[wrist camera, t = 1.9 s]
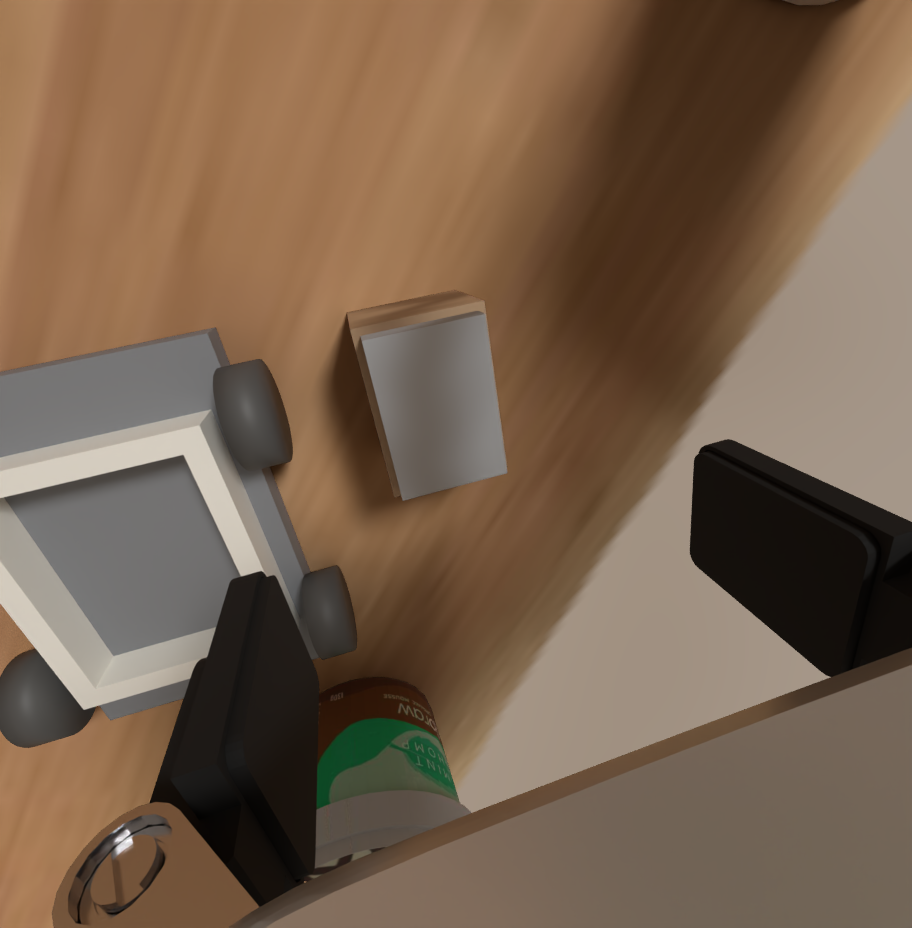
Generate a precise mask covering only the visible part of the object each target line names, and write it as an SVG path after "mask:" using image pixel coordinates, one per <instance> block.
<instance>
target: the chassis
mask: <svg viewBox="0 0 912 928" xmlns="http://www.w3.org/2000/svg"><path fill="white" fill-rule="evenodd" d="M292 455H293V447H292V438H291V432H290V427H289V423H288V419H287V415H286V411H285V408H284V405H283V402H282V399H281V396H280V393H279V390H278V388H277V385H276V383H275V381H274V378H273V376H272V374H271V372H270V370H269V369H268V367H267V366H266V364H265V363H264V362H263V361H262V360H261V359H256V360H252V361H247V362H243V363H238V364H233V365H230V363H229V361H228V358H227V355H226V353H225V350H224V348H223V345H222V343H221V340H220V337H219V335H218V332H217V330H216V328H211V329H206V330H201V331H196V332H192V333H187V334H182V335H177V336H172V337H167V338H163V339H158V340H153V341H148V342H143V343H138V344H133V345H129V346H124V347H119V348H114V349H109V350H104V351H100V352H95V353H90V354H85V355H80V356H75V357H71V358H66V359H61V360H56V361H51V362H46V363H41V364H37V365H32V366H27V367H22V368H17V369H12V370H8V371H3V372H0V604H1V605H2V606H3V607H4V609H5V610H6V611H7V613H8V614H9V615H10V616H11V618H12V619H13V620H14V621H15V623H16V624H17V625H18V627H19V628H20V629H21V630H22V632H23V633H24V634H25V635H26V637H27V638H28V639H29V641H30V642H31V643H32V644H33V646H34V647H35V648H36V649H33V650H29V651H26V652H23V653H21V654H19V655H18V656H16V657H15V658H14V659H13V660H12V661H11V662H10V663H9V664H8V665H7V666H6V668H5V669H4V671H3V673H2V675H1V677H0V730H1V732H2V734H3V735H4V736H5V738H6V739H7V740H8V741H10V742H11V743H12V744H14V745H16V746H19V747H23V748H30V747H35V746H38V745H42V744H45V743H48V742H51V741H55V740H58V739H61V738H65V737H68V736H71V735H74V734H76V733H78V732H79V731H80V730H82V729H83V728H84V727H85V726H86V725H87V723H88V722H89V720H90V719H91V717H92V715H93V713H94V711H95V708H96V706H100V707H101V709H102V710H103V711H104V713H105V714H106V715H107V717H108V718H109V719H110V720H113V719H116V718H120V717H123V716H126V715H130V714H133V713H136V712H140V711H143V710H146V709H150V708H153V707H156V706H160V705H163V704H166V703H170V702H173V701H176V700H180V699H183V698H184V696H185V693H186V690H187V687H188V684H189V681H190V678H191V675H192V672H193V669H194V667H195V665H196V663H197V662H198V661H199V660H200V659H203V658H206V657H207V656H208V652H209V649H210V646H211V642H212V639H213V636H214V633H215V629H216V626H217V623H218V619H219V616H220V613H221V609H222V606H223V603H224V600H225V596H226V593H227V590H228V586H229V583H230V581H231V580H232V579H234V578H238V577H241V576H245V575H248V574H252V573H255V572H259V571H262V572H264V573H265V575H266V576H267V577H268V576H271V575H275V576H276V578H277V579H278V581H279V584H280V586H281V589H282V591H283V593H284V596H285V598H286V600H287V603H288V605H289V607H290V610H291V612H292V615H293V617H294V619H295V622H296V624H297V626H298V629H299V631H300V633H301V636H302V638H303V641H304V643H305V645H306V648H307V650H308V652H309V655H310V657H311V659H312V660H313V659H316V658H321V659H322V660H324V659H327V658H331V657H334V656H337V655H341V654H344V653H347V652H351V651H354V650H356V648H357V632H356V623H355V617H354V612H353V607H352V603H351V598H350V595H349V591H348V588H347V584H346V581H345V579H344V576H343V574H342V571H341V570H340V568H339V567H338V566H337V565H336V566H333V567H329V568H325V569H322V570H318V571H314V572H310V569H309V567H308V564H307V562H306V559H305V557H304V554H303V551H302V549H301V546H300V544H299V541H298V539H297V536H296V533H295V531H294V528H293V526H292V523H291V520H290V518H289V515H288V513H287V510H286V508H285V505H284V502H283V500H282V497H281V495H280V492H279V490H278V487H277V484H276V482H275V479H274V477H273V474H272V471H271V469H270V466H274V465H278V464H283V463H287V462H290V461H291V460H292Z"/></svg>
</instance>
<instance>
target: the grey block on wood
mask: <svg viewBox="0 0 912 928" xmlns="http://www.w3.org/2000/svg"><path fill="white" fill-rule="evenodd" d="M347 316H348V321H349V327H350V332H351V335H352V339H353V343H354V347H355V350H356V354H357V358H358V362H359V366H360V369H361V373H362V377H363V381H364V384H365V388H366V392H367V396H368V400H369V403H370V407H371V411H372V415H373V418H374V422H375V426H376V430H377V434H378V437H379V441H380V445H381V449H382V452H383V456H384V460H385V464H386V468H387V471H388V475H389V479H390V483H391V486H392V490H393V494H394V497H398V496H402V499H403V501H404V500H408V499H411V498H415V497H419V496H423V495H427V494H430V493H434V492H438V491H442V490H445V489H449V488H453V487H457V486H461V485H464V484H468V483H472V482H476V481H479V480H483V479H487V478H491V477H494V476H498V475H502V474H506V473H507V461H506V453H505V446H504V439H503V432H502V424H501V417H500V410H499V403H498V396H497V388H496V381H495V374H494V367H493V359H492V352H491V345H490V338H489V330H488V323H487V316H486V309H485V302H484V300H482V299H479V298H476V297H473V296H470V295H468V294H465V293H462V292H459V291H457V290H452V291H447V292H442V293H438V294H433V295H428V296H423V297H418V298H414V299H409V300H404V301H399V302H395V303H390V304H385V305H380V306H376V307H371V308H366V309H361V310H356V311H352V312H347Z"/></svg>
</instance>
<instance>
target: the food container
mask: <svg viewBox="0 0 912 928" xmlns="http://www.w3.org/2000/svg"><path fill="white" fill-rule="evenodd" d="M468 814H471V812H470V811H469V810H468V809H467V808H466V807H465V806H463V805H462V804H460V802H459V798H458V795H457V792H456V789H455V785H454V782H453V779H452V775H451V772H450V769H449V766H448V762H447V759H446V756H445V752H444V749H443V746H442V743H441V739H440V736H439V733H438V729H437V726H436V723H435V720H434V716H433V713H432V710H431V707H430V705H429V703H428V701H427V699H426V697H425V695H424V694H423V693H421V692H420V691H419V690H418V689H417V688H416V687H414V686H412V685H410V684H408V683H406V682H403V681H400V680H397V679H392V678H383V677H372V678H362V679H357V680H352V681H348V682H345V683H342V684H339V685H337V686H335V687H332V688H330V689H328V690H326V691H324V692H323V693H321V694H319V721H318V766H317V811H316V856H315V868H314V872H313V874H311V875H309V876H306V877H304V881H307V882H308V881H310V880H312V879H314V878H316V877H319V876H321V875H323V874H325V873H327V872H329V871H332V870H334V869H336V868H338V867H340V866H343V865H345V864H347V863H349V862H351V861H353V860H356V859H358V858H361V857H363V856H366V855H368V854H371V853H373V852H376V851H378V850H381V849H383V848H386V847H388V846H391V845H393V844H396V843H398V842H401V841H403V840H406V839H408V838H410V837H413V836H415V835H418V834H420V833H423V832H425V831H428V830H430V829H433V828H435V827H438V826H440V825H443V824H445V823H448V822H450V821H453V820H455V819H458V818H460V817H463V816H465V815H468Z"/></svg>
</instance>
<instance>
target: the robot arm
mask: <svg viewBox="0 0 912 928" xmlns="http://www.w3.org/2000/svg"><path fill="white" fill-rule="evenodd" d="M783 1H787V2H790V3H793V4H796V5H824V4H827V3H831V2H834V1H838V0H783ZM690 555H691V558H692V560H693V562H694V564H695V565H696V566H697V567H698V568H699V569H700V570H702V571H703V572H704V573H705V574H707V576H709V577H710V578H711V579H712V580H713V581H715V582H716V583H717V584H718V585H719V586H720V587H722V588H723V589H724V590H725V591H726V592H728V593H729V594H730V595H731V596H732V597H734V598H735V599H736V600H737V601H738V602H739V603H741V604H742V605H743V606H744V607H745V608H747V609H748V610H749V611H750V612H752V613H753V614H754V615H755V616H756V617H757V618H758V619H760V620H761V621H762V622H763V623H764V624H765V625H767V626H768V627H769V628H770V629H771V630H773V631H774V632H775V633H776V634H777V635H778V636H780V637H781V638H782V639H783V640H785V641H786V642H787V643H788V644H789V645H790V646H792V647H793V648H794V649H795V650H796V651H797V652H799V653H800V654H801V655H802V656H803V657H805V658H806V659H807V660H808V661H809V662H810V663H812V664H813V665H814V666H815V667H816V668H818V669H819V670H820V671H821V672H823V673H824V674H825V675H827V676H830V677H831V678H828V679H825V680H823V681H820V682H817V683H814V684H812V685H809V686H806V687H804V688H801V689H798V690H796V691H793V692H790V693H788V694H785V695H782V696H779V697H776V698H774V699H771V700H768V701H766V702H763V703H760V704H758V705H756V706H752V707H750V708H747V709H744V710H742V711H739V712H736V713H734V714H731V715H729V716H726V717H723V718H721V719H718V720H715V721H712V722H710V723H707V724H704V725H702V726H699V727H696V728H694V729H692V730H689V731H686V732H683V733H681V734H678V735H675V736H673V737H670V738H667V739H665V740H662V741H660V742H657V743H654V744H651V745H649V746H646V747H643V748H641V749H638V750H635V751H633V752H630V753H628V754H625V755H622V756H620V757H617V758H615V759H612V760H609V761H606V762H604V763H601V764H599V765H596V766H593V767H591V768H588V769H586V770H583V771H581V772H578V773H576V774H572V775H570V776H567V777H565V778H562V779H559V780H557V781H554V782H552V783H549V784H546V785H544V786H541V787H538V788H536V789H533V790H531V791H528V792H525V793H523V794H520V795H518V796H515V797H512V798H510V799H507V800H505V801H502V802H499V803H497V804H494V805H491V806H489V807H486V808H484V809H481V810H478V811H476V812H473V813H471V814H468V815H465V816H463V817H460V818H458V819H455V820H453V821H450V822H448V823H445V824H443V825H440V826H438V827H435V828H433V829H430V830H428V831H425V832H423V833H420V834H418V835H415V836H413V837H410V838H408V839H406V840H403V841H401V842H398V843H396V844H393V845H391V846H388V847H386V848H383V849H381V850H378V851H376V852H373V853H371V854H368V855H366V856H363V857H361V858H358V859H356V860H353V861H351V862H349V863H347V864H345V865H343V866H340V867H338V868H336V869H334V870H332V871H329V872H327V873H325V874H323V875H321V876H319V877H316V878H314V879H312V880H310V881H308V882H306V883H304V877H306V876H309V875H311V874H313V872H314V868H315V856H316V811H317V766H318V721H319V681H318V676H317V672H316V669H315V667H314V664H313V662H312V659H311V657H310V655H309V652H308V650H307V648H306V645H305V643H304V641H303V638H302V636H301V633H300V631H299V629H298V626H297V624H296V622H295V619H294V617H293V615H292V612H291V610H290V607H289V605H288V603H287V600H286V598H285V596H284V593H283V591H282V589H281V586H280V584H279V581H278V579H277V578H276V576H275V575H271V576H268V577H267V576H266V575H265V573H264V572H262V571H259V572H255V573H252V574H248V575H245V576H241V577H238V578H234V579H232V580H231V581H230V583H229V586H228V590H227V593H226V596H225V600H224V603H223V606H222V609H221V613H220V616H219V619H218V623H217V626H216V629H215V633H214V636H213V639H212V642H211V646H210V649H209V652H208V656H207V657H206V658H203V659H200V660H199V661H198V662H197V663H196V665H195V667H194V669H193V672H192V675H191V678H190V681H189V684H188V687H187V690H186V693H185V696H184V699H183V702H182V705H181V708H180V711H179V714H178V718H177V721H176V724H175V727H174V730H173V733H172V736H171V739H170V742H169V745H168V748H167V751H166V754H165V757H164V760H163V763H162V766H161V769H160V772H159V775H158V779H157V782H156V785H155V788H154V791H153V794H152V797H151V800H150V803H149V804H146V805H142V806H138V807H137V808H135V809H133V810H131V811H129V812H127V813H125V814H123V815H121V816H119V817H118V818H117V819H116V820H114V821H113V822H112V823H110V824H109V825H108V826H106V827H105V828H104V829H103V830H101V831H100V832H99V833H98V834H97V835H96V836H95V837H94V838H93V839H92V840H91V841H90V842H89V843H88V845H87V846H86V847H85V848H84V849H83V850H82V851H81V853H80V854H79V855H78V857H77V858H76V859H75V861H74V862H73V864H72V865H71V866H70V868H69V869H68V871H67V873H66V875H65V877H64V879H63V881H62V883H61V885H60V887H59V889H58V891H57V893H56V898H55V902H54V906H53V910H52V919H53V926H54V928H912V522H910V521H908V520H906V519H904V518H902V517H899V516H897V515H895V514H893V513H891V512H889V511H886V510H884V509H882V508H880V507H878V506H875V505H873V504H871V503H869V502H867V501H864V500H862V499H860V498H858V497H856V496H854V495H851V494H849V493H847V492H845V491H843V490H840V489H838V488H836V487H834V486H832V485H830V484H827V483H825V482H823V481H821V480H819V479H816V478H814V477H812V476H810V475H808V474H806V473H803V472H801V471H799V470H797V469H795V468H792V467H790V466H788V465H786V464H784V463H781V462H779V461H777V460H775V459H773V458H770V457H768V456H766V455H764V454H762V453H760V452H757V451H755V450H753V449H751V448H749V447H746V446H744V445H742V444H740V443H738V442H736V441H733V440H729V439H728V440H723V441H719V442H716V443H712V444H709V445H705V446H704V447H702V448H701V449H700V451H699V454H698V455H697V456H696V457H695V460H694V472H693V494H692V515H691V536H690Z"/></svg>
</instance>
